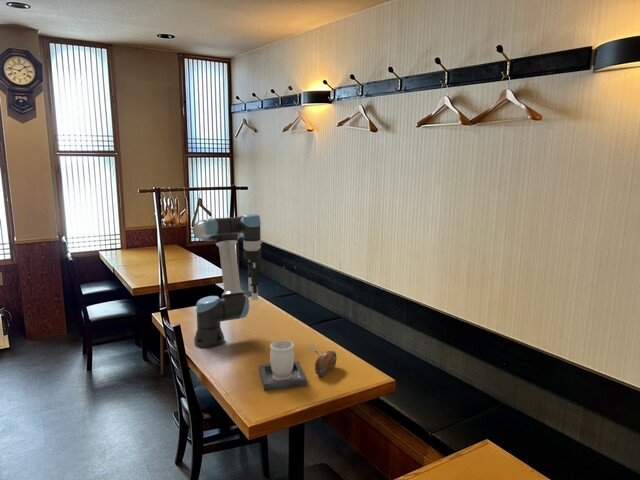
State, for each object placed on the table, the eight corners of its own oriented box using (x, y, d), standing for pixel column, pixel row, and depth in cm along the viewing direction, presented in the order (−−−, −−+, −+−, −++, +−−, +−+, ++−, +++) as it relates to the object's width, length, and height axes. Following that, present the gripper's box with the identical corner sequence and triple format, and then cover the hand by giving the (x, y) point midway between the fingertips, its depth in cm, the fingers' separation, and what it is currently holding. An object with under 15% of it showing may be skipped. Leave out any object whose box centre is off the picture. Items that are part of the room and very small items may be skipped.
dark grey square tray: (259, 371, 205) (258, 365, 205) (298, 367, 210) (298, 361, 209) (264, 391, 188) (264, 384, 187) (307, 386, 192) (307, 379, 192)
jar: (290, 384, 192) (290, 350, 190) (266, 381, 194) (266, 348, 192) (296, 373, 203) (296, 340, 200) (274, 370, 205) (274, 338, 202)
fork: (327, 366, 212) (327, 362, 212) (306, 346, 234) (306, 343, 233) (333, 364, 213) (333, 361, 213) (312, 345, 235) (312, 342, 235)
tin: (319, 379, 198) (319, 361, 197) (313, 377, 200) (313, 359, 199) (337, 366, 211) (337, 348, 209) (331, 364, 213) (331, 347, 211)
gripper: (264, 254, 193) (265, 303, 197) (257, 243, 217) (258, 287, 220) (246, 255, 191) (247, 304, 195) (241, 244, 215) (242, 288, 219)
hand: (253, 295), depth 208 cm, fingers open, 13 cm apart
